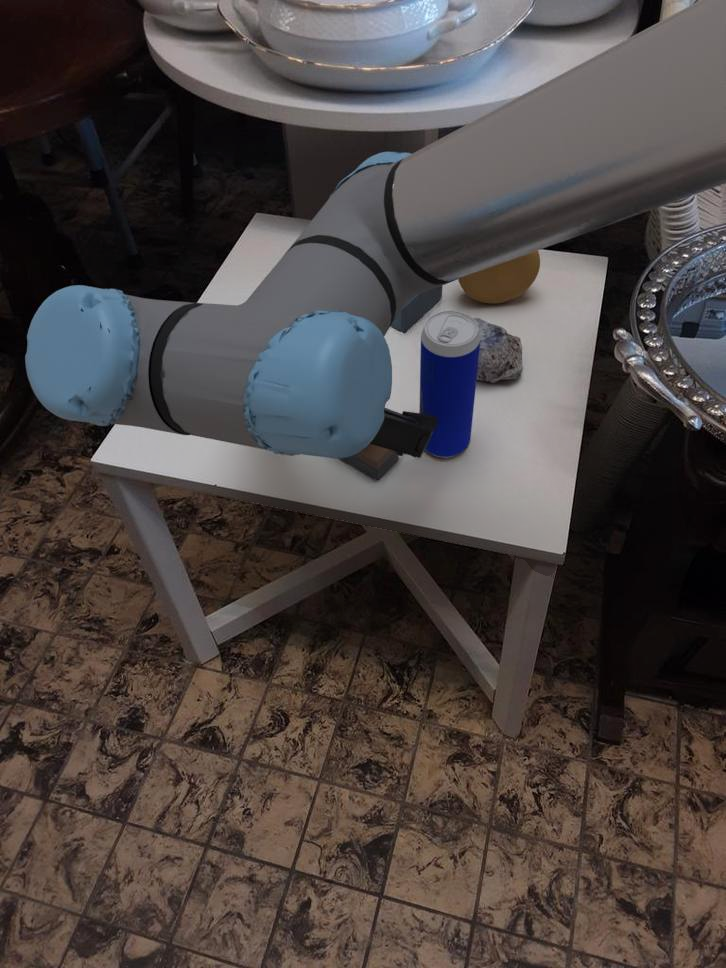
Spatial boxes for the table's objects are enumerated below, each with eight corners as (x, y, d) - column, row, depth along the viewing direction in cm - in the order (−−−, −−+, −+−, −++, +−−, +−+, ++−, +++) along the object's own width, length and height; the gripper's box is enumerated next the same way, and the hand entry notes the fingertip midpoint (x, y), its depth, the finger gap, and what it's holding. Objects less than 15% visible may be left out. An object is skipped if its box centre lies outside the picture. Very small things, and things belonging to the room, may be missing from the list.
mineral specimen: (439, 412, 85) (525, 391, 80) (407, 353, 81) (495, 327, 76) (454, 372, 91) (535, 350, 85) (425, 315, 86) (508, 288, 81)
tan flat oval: (530, 284, 92) (542, 210, 84) (536, 305, 90) (549, 231, 82) (452, 291, 92) (456, 218, 84) (456, 311, 90) (461, 238, 82)
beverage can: (433, 415, 80) (437, 301, 68) (478, 433, 79) (491, 318, 67) (409, 449, 78) (410, 336, 66) (456, 468, 76) (465, 356, 64)
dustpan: (404, 333, 88) (404, 307, 85) (299, 282, 94) (295, 256, 92) (456, 284, 93) (457, 259, 90) (352, 239, 99) (350, 213, 96)
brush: (399, 459, 77) (398, 356, 66) (377, 481, 75) (373, 379, 64) (344, 428, 80) (334, 324, 69) (322, 449, 78) (309, 346, 67)
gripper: (103, 355, 61) (260, 380, 79) (351, 508, 51) (464, 495, 69) (135, 264, 59) (288, 311, 78) (398, 405, 49) (501, 420, 68)
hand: (371, 398), depth 74 cm, fingers open, 13 cm apart
